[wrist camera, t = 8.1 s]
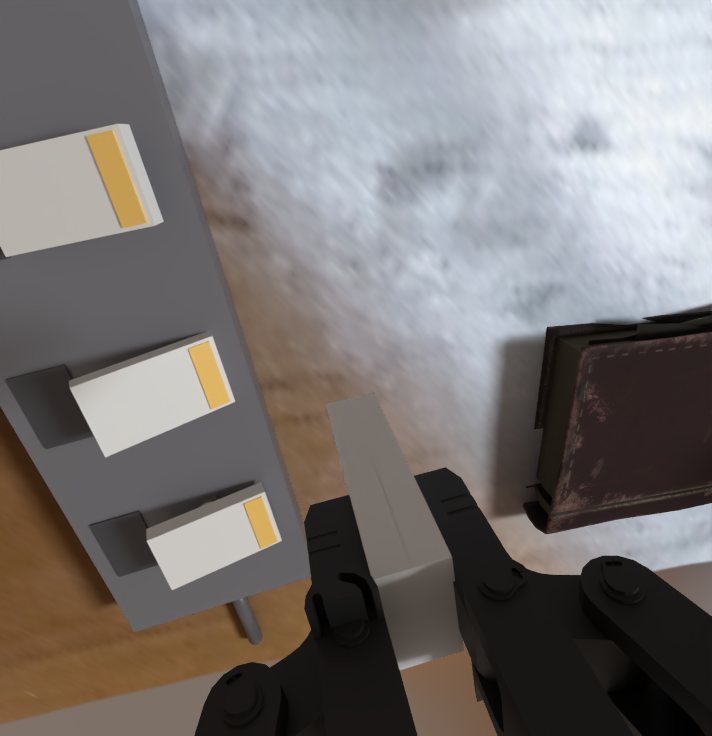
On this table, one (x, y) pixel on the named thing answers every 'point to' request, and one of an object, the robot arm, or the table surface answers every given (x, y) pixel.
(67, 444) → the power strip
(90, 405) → the rocker middle
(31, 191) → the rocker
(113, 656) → the table surface
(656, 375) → the diary
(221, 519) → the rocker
